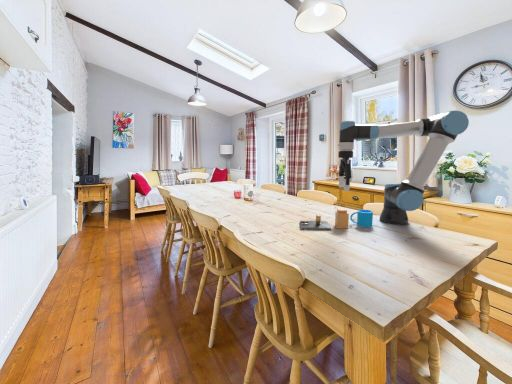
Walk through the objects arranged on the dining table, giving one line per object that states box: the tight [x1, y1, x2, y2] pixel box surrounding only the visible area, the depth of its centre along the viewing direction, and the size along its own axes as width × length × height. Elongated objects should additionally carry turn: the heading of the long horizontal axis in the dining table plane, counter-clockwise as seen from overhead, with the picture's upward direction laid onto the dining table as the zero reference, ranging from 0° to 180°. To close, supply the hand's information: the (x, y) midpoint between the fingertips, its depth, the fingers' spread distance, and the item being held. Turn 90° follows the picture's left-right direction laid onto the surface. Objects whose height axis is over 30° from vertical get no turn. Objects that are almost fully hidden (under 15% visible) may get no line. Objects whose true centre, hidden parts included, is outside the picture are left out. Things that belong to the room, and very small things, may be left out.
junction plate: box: [299, 214, 332, 231], centre depth 141 cm, size 16×14×6 cm
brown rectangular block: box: [334, 208, 350, 229], centre depth 138 cm, size 6×6×10 cm
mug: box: [349, 209, 374, 228], centre depth 142 cm, size 12×8×8 cm
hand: (343, 189), depth 136 cm, fingers open, 13 cm apart
